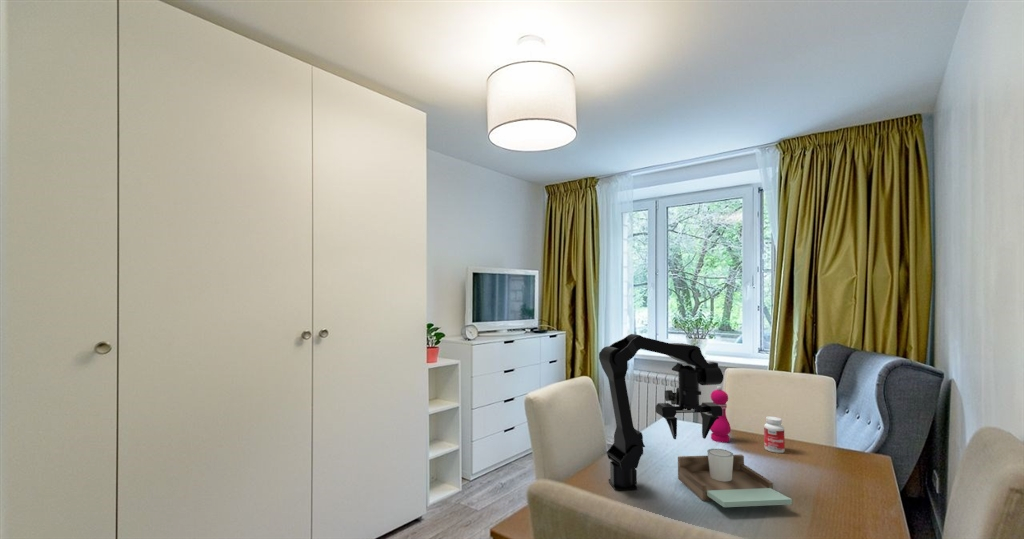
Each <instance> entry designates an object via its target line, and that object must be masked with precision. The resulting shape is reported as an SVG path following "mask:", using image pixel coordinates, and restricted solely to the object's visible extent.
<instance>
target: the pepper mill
mask: <svg viewBox="0 0 1024 539" xmlns="http://www.w3.org/2000/svg"><path fill="white" fill-rule="evenodd" d="M710 398H711V401H712V402H713V403H715V404H717V405H720V406H721V407H722V409H723V416H718V417H719V419H716V421H715V422H714V424H713V425H712V427H711V429H710V431H711V434H710V439H711V440H712V441H714V442H716V443H729V442H730V435H729V434H730V433H731V430H732V429H731V425H730V421H729V420H728V418H727V413H726V412H727V411H726V410H727V408H728V404H727V403H728V401H729V396H728V394H727V392H726V391H724V390H723V388H722V386H720V385H717V386H716V389H715V390H713V391H711V394H710Z"/></svg>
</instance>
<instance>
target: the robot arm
mask: <svg viewBox="0 0 1024 539" xmlns="http://www.w3.org/2000/svg"><path fill="white" fill-rule="evenodd" d="M639 350H644V351H648V352H654V353H657V354H661V355H665V356H668V357H669V358H671V359H673V360H675V361H677V363H676V364H675V365H674V366H673V367H672V368H671V371H673V372H677V373H678V374H677V375H678V376H677V377H678V387H676V391H675V392H673V390H672V389H671V390H669V389H667V390H664V399H665V401H666V402H661V403H660V402H658V403H656V405H655V413H656V414H658V415H659V416H660V417H663V419H665V421H666V423H667V424H668V428H669V431H670V433H671V435H672V438H673V439H674V440H677V437H678V434H677V433H678V418H677V417H676V415H677V414H687V413H689V414H690V413H691V414H692V413H694V414H695V413H700V416H701V419H702V420H701V433H702V434H701V435H702V438H703V439H706V438H707V437H708V435H709V433H710V431H711V430H710V429H711V427H712V425H713V424H714V422H715V421H716V419H719V417H718V416H723V409H722V407H721V406H720V405H717V404H715V403H713V401H712V402H711V401H710V402H701V404H700V396H701V395H702V391H701V390H700V387H699V386H715V385H717V386H719V385H721V384H722V383H723V381H724V374H723V371H722V369H721V368H720V367H719V363H718V362H715V361H709V362H708V361H707V359H705V358H706V357H705V356H704V355H703V353H702V350H701V347H699V346H697V345H694V344H687V343H680V342H677V343H676V342H674V343H673V342H665V341H661V340H657V339H654V338H650V337H646V336H642V335H640V334H636V333H635V334H634V333H630V334H629V335H626V336H625V337H623V338H622V339H620V340H617V341H615V342H613V343H611V344H610V345H609V346H604V347H603V348H602V349H601V350H600V352H598V359H599V363H600V365H601V368H602V370H603V372H604V374H605V376H606V377H607V380H608V384H609V390H610V397H611V402H612V408H613V413H614V419H615V425H616V427H615V431H614V434H613V436H614V437H613V443H612V444H611V446H610V447H609V448H608V450H607V451H606V455H607V459H608V460H610V462H609V463H610V466H609V468H610V470H609V472H610V473H609V477H610V478H608V482H609V483H610V485H611V486H612V488H613V489H614V490H615V491H627V490H628V491H632V490H638V486H637V483H638V482H637V480H638V479H637V476H638V475H637V474H638V472H637V471H638V470H637V469H638V467H639V462H640V460H641V457H642V456H643V455H644V448H645V447H646V446H645V444H644V437H643V436H644V435H643V432H641V431H639V429H638V430H637V429H636V428H635V427H634V422H633V417H632V416H633V415H632V410H631V407H630V400H629V394H628V388H627V383H626V377H627V376H626V375H627V371H628V369H629V367H628V365H629V364H628V362H629V361H630V360H631V359H633V358H634V357H635V356H636V354H637V353H638V352H639ZM679 362H680V363H679ZM682 363H684V364H685V365H683V364H682ZM693 366H694V367H693ZM668 402H670V403H668ZM674 405H676V406H674Z"/></svg>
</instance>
